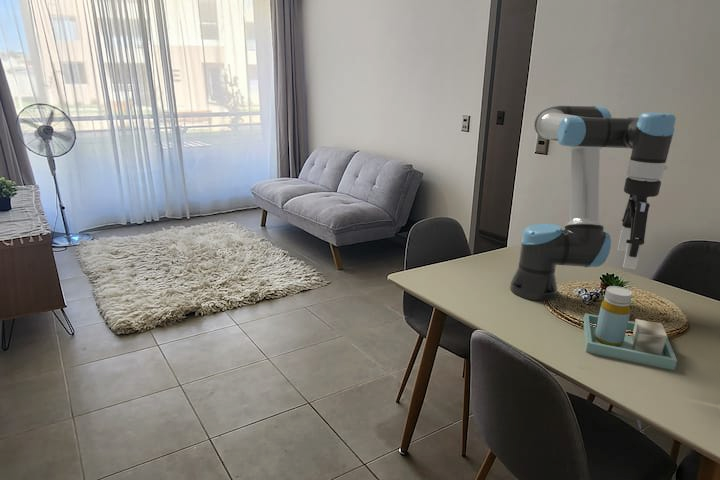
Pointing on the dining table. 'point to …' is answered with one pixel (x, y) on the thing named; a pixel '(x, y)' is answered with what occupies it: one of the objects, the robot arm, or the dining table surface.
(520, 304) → the dining table surface
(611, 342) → the bottle
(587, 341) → the tote
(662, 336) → the beige rectangular box
